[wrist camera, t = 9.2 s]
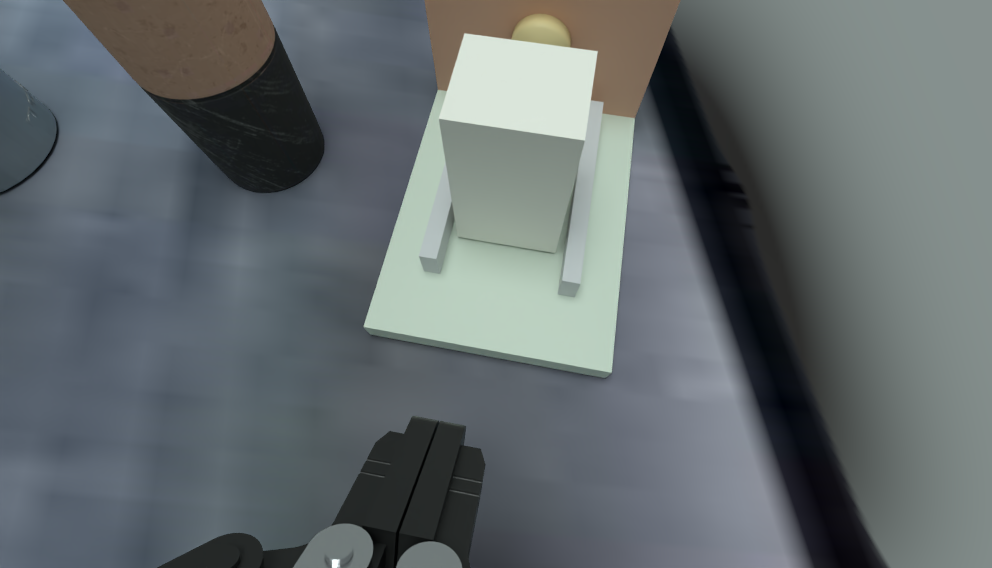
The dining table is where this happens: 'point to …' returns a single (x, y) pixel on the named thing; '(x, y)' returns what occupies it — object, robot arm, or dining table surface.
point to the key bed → (588, 220)
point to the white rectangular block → (515, 138)
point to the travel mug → (216, 81)
